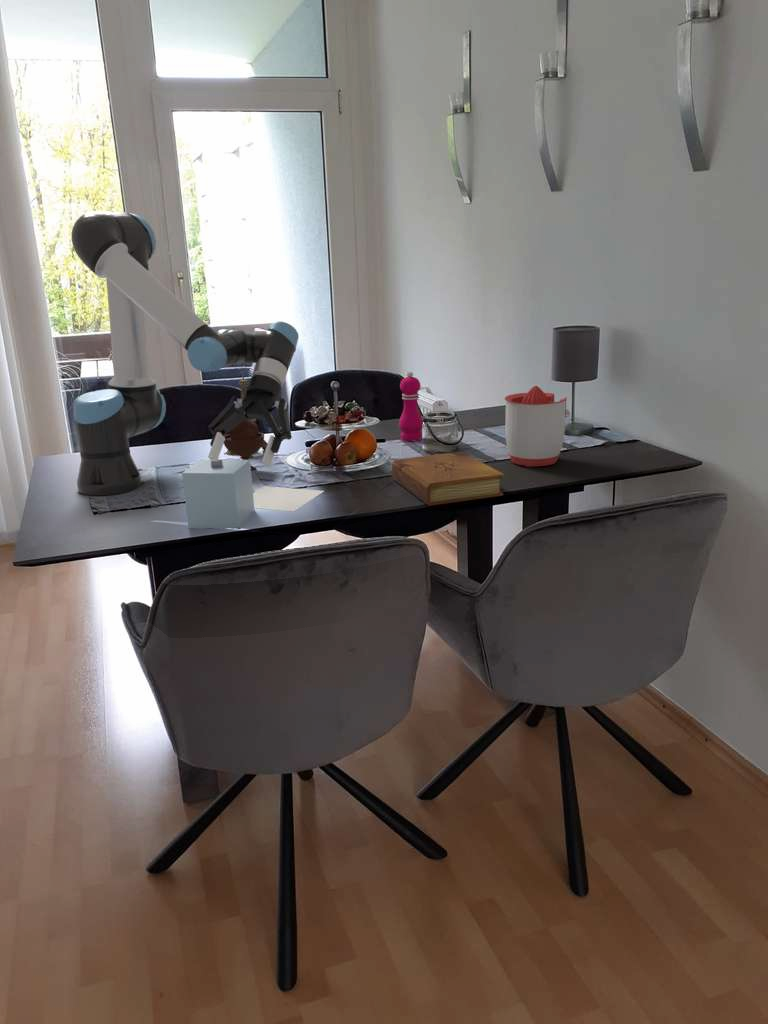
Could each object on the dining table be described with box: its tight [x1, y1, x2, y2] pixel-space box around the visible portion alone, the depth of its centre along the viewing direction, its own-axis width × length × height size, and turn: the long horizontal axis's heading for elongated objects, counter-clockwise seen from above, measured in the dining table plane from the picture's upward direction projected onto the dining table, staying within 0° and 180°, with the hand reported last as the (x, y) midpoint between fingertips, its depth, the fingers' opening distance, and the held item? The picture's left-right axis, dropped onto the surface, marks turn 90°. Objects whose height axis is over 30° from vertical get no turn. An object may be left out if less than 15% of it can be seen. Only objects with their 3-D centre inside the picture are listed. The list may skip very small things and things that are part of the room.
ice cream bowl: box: [223, 420, 265, 472], centre depth 210 cm, size 11×11×15 cm
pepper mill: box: [398, 371, 424, 442], centre depth 238 cm, size 7×7×20 cm
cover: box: [181, 458, 255, 529], centre depth 172 cm, size 11×11×13 cm
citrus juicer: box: [504, 385, 571, 468], centre depth 209 cm, size 16×17×20 cm
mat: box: [253, 485, 325, 512], centre depth 187 cm, size 16×16×1 cm
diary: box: [391, 451, 504, 507], centre depth 191 cm, size 23×19×6 cm
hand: (238, 462), depth 178 cm, fingers open, 13 cm apart
